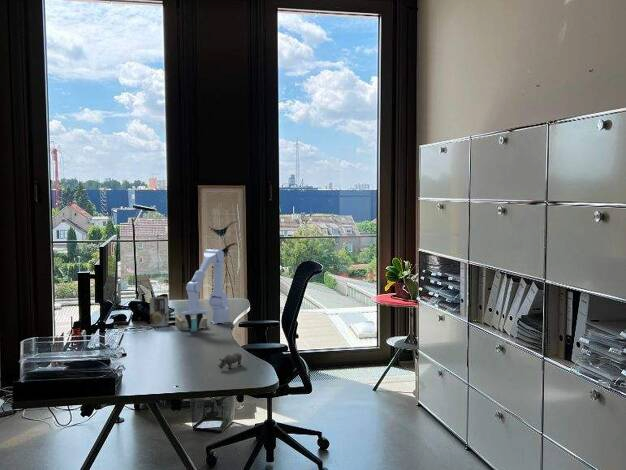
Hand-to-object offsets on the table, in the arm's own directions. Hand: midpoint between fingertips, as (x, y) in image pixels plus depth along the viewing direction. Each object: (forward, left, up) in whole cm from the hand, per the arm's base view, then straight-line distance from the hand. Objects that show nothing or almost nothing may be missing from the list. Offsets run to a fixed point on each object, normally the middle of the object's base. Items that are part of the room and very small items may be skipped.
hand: (193, 327), depth 321 cm
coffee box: (+15, -22, -2) cm, 27 cm away
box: (-1, -12, -2) cm, 12 cm away
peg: (0, 0, -2) cm, 2 cm away
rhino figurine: (0, +73, -2) cm, 73 cm away
